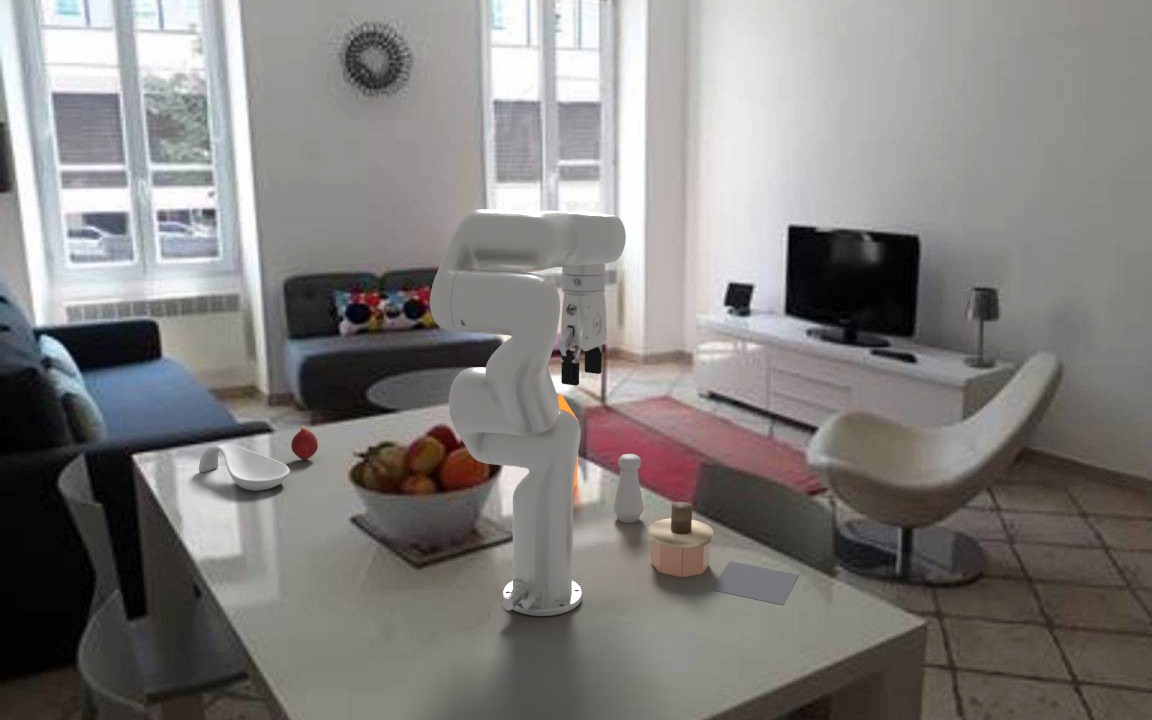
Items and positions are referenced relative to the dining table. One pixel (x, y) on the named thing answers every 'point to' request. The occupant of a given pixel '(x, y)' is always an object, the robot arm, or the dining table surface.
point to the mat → (755, 582)
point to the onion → (304, 444)
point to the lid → (681, 529)
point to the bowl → (680, 559)
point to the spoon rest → (246, 467)
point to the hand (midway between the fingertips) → (581, 378)
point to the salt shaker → (628, 490)
